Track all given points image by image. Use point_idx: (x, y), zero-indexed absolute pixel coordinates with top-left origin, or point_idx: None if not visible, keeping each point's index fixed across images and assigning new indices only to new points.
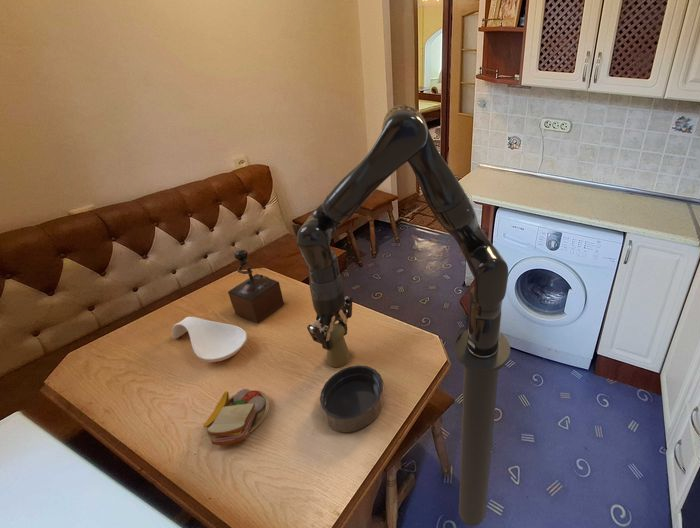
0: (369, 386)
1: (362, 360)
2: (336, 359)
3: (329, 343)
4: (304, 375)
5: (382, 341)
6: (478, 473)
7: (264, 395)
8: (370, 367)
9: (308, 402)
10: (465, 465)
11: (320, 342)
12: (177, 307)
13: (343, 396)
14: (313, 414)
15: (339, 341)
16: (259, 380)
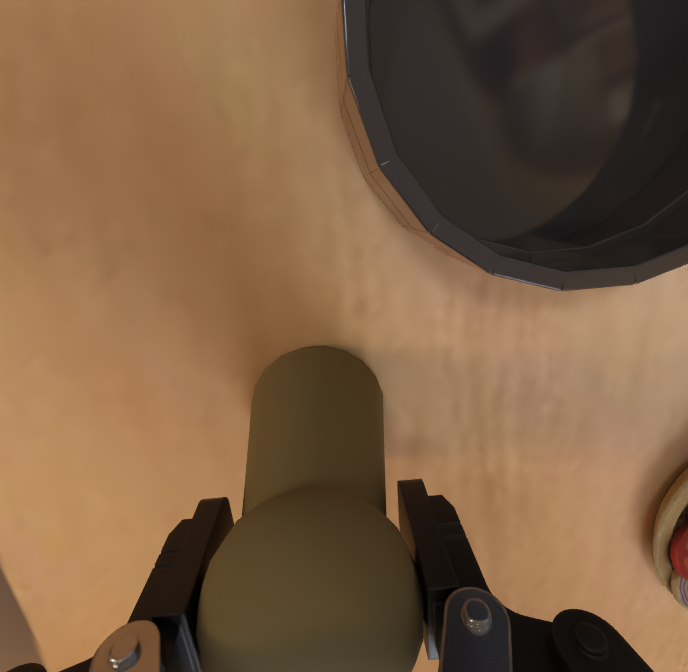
0: (393, 54)
1: (247, 278)
2: (368, 399)
3: (436, 539)
4: (485, 466)
5: (46, 275)
6: None
7: (671, 519)
8: (345, 28)
9: (608, 328)
10: None
11: (633, 654)
12: None
13: (527, 169)
14: None
15: (329, 484)
16: (581, 588)
